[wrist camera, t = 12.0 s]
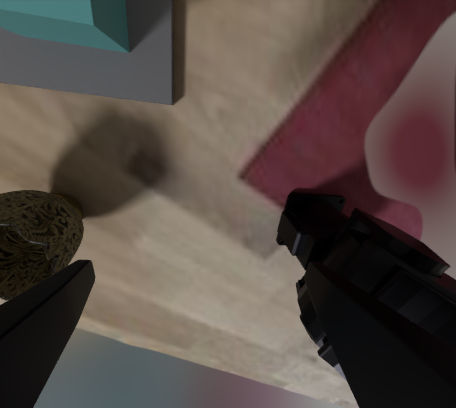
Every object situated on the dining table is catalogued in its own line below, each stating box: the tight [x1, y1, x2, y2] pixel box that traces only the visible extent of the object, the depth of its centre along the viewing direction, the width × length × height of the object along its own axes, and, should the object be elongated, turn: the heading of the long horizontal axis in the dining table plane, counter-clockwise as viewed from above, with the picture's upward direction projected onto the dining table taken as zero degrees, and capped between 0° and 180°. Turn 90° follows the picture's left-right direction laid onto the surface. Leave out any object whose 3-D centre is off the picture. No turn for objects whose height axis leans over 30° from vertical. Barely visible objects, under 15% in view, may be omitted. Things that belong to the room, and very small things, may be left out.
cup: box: [0, 190, 84, 300], centre depth 15 cm, size 8×7×8 cm
